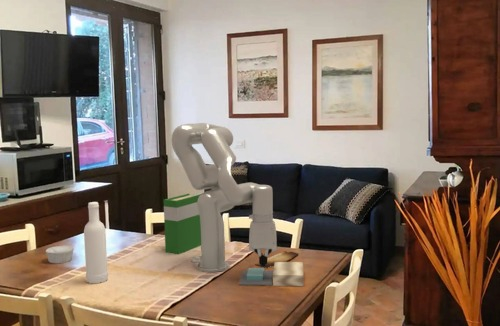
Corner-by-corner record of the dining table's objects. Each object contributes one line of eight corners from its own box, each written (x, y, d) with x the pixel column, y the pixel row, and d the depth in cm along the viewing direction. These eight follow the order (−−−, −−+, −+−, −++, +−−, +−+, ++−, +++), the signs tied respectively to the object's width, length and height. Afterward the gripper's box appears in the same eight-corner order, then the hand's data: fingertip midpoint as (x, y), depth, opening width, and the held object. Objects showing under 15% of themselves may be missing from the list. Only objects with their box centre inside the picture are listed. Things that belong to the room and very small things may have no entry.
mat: (238, 285, 194) (238, 284, 194) (243, 271, 210) (243, 270, 210) (271, 285, 193) (271, 284, 193) (273, 271, 209) (273, 270, 209)
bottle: (85, 278, 205) (81, 201, 201) (106, 275, 208) (102, 200, 204) (87, 285, 197) (83, 205, 194) (109, 282, 200) (105, 203, 197)
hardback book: (189, 243, 254) (187, 193, 252) (202, 245, 251) (200, 194, 248) (165, 252, 239) (163, 199, 237) (178, 254, 235) (176, 201, 233)
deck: (272, 285, 193) (272, 275, 193) (274, 271, 209) (274, 261, 208) (303, 286, 192) (303, 275, 192) (302, 272, 208) (302, 262, 208)
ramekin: (40, 263, 226) (39, 251, 226) (59, 256, 237) (58, 244, 236) (61, 265, 222) (60, 253, 222) (79, 258, 233) (78, 246, 232)
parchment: (284, 251, 238) (284, 249, 238) (303, 254, 232) (303, 252, 232) (252, 266, 218) (252, 264, 218) (272, 270, 212) (272, 268, 212)
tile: (262, 275, 197) (262, 280, 197) (264, 268, 206) (264, 273, 206) (246, 275, 197) (246, 280, 198) (248, 268, 206) (249, 273, 206)
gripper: (241, 220, 196) (242, 268, 198) (282, 220, 194) (282, 269, 197) (243, 215, 203) (244, 262, 205) (283, 216, 202) (283, 263, 204)
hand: (263, 265), depth 201 cm, fingers closed
